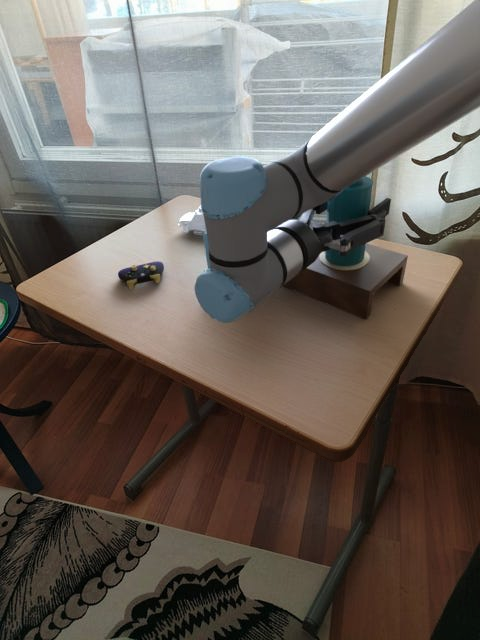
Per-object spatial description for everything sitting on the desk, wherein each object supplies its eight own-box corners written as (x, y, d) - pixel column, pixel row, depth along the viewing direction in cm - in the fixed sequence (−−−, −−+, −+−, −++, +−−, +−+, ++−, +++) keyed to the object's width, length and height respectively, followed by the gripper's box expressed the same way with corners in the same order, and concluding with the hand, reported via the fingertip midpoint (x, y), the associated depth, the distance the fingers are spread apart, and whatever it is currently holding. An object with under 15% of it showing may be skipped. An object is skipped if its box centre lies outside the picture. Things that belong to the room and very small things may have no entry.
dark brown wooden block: (402, 283, 80) (408, 254, 77) (366, 319, 73) (370, 290, 69) (322, 256, 90) (323, 229, 87) (282, 285, 83) (282, 258, 79)
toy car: (189, 223, 108) (185, 198, 104) (232, 228, 104) (229, 202, 100) (178, 234, 104) (173, 208, 100) (222, 240, 100) (219, 213, 96)
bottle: (371, 253, 78) (384, 153, 67) (351, 270, 74) (361, 167, 63) (337, 243, 82) (345, 147, 71) (317, 259, 78) (321, 159, 67)
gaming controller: (162, 262, 92) (162, 254, 86) (168, 285, 91) (168, 279, 85) (117, 272, 90) (114, 264, 84) (123, 296, 89) (121, 290, 83)
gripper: (232, 253, 71) (309, 206, 83) (348, 298, 58) (418, 235, 71) (228, 211, 66) (310, 168, 78) (352, 250, 54) (427, 191, 66)
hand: (361, 199), depth 75 cm, fingers open, 9 cm apart
